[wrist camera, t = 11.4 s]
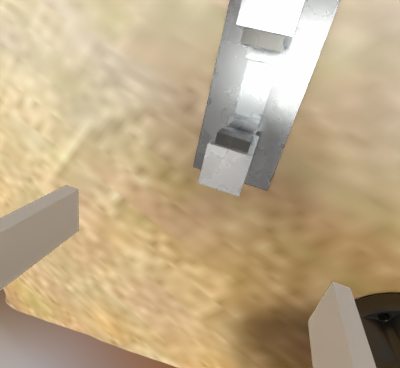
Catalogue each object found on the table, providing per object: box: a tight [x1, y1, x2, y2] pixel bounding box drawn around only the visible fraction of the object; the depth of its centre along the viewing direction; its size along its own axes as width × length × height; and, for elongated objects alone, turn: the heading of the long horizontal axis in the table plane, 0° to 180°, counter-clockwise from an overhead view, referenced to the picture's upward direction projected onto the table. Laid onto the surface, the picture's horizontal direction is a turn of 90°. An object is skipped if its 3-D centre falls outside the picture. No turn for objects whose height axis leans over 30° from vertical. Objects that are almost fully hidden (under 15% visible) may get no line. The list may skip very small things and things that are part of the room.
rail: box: [193, 0, 340, 190], centre depth 24 cm, size 22×10×10 cm, turn 168°
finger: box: [198, 126, 259, 197], centre depth 26 cm, size 5×4×8 cm
